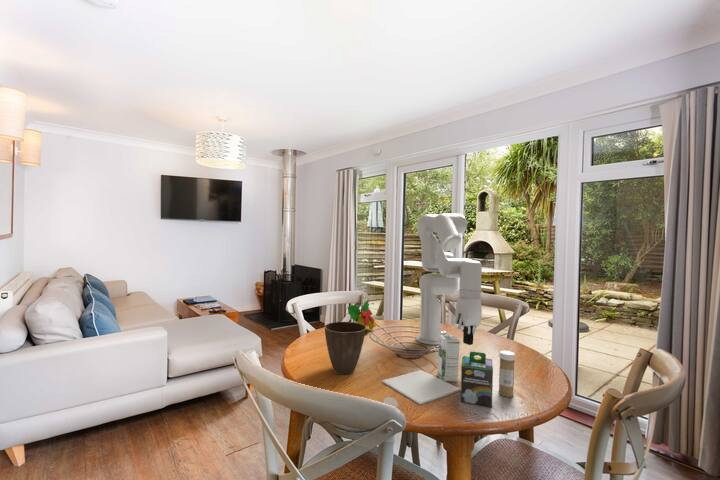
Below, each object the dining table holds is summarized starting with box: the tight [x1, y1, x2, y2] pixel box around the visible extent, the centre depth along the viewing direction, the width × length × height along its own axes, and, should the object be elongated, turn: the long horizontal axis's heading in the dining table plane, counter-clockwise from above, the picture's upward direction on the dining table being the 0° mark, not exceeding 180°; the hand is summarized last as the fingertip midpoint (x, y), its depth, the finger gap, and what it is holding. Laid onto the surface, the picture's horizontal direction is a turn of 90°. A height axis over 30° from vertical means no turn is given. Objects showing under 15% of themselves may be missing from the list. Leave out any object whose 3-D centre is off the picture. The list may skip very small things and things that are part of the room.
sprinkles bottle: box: [497, 350, 516, 398], centre depth 111 cm, size 5×5×13 cm
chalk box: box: [460, 351, 494, 408], centre depth 107 cm, size 9×9×15 cm
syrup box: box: [437, 334, 461, 382], centre depth 122 cm, size 6×6×14 cm
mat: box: [381, 369, 461, 406], centre depth 115 cm, size 18×18×1 cm
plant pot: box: [324, 321, 366, 375], centre depth 126 cm, size 15×15×16 cm
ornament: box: [347, 300, 378, 332], centre depth 176 cm, size 21×8×15 cm, turn 149°
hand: (468, 343), depth 128 cm, fingers closed
